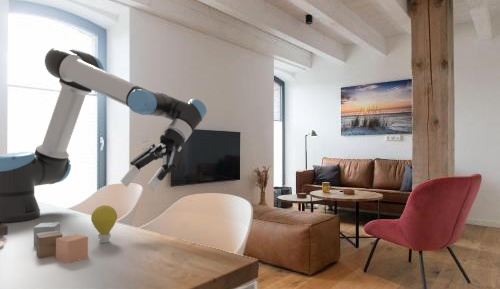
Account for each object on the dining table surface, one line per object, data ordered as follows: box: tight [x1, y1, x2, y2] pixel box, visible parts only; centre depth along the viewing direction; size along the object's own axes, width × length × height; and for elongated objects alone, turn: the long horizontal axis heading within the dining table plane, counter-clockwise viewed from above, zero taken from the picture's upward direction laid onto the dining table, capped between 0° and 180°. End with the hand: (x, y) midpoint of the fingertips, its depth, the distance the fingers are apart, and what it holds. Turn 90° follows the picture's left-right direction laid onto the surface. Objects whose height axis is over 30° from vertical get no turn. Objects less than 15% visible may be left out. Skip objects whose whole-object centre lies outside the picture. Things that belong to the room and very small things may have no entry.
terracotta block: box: [55, 233, 89, 264], centre depth 83 cm, size 5×5×5 cm
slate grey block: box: [33, 221, 61, 247], centre depth 96 cm, size 5×5×5 cm
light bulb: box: [90, 204, 118, 244], centre depth 97 cm, size 7×7×10 cm
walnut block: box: [35, 230, 63, 259], centre depth 86 cm, size 5×5×5 cm
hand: (136, 185), depth 104 cm, fingers open, 13 cm apart
